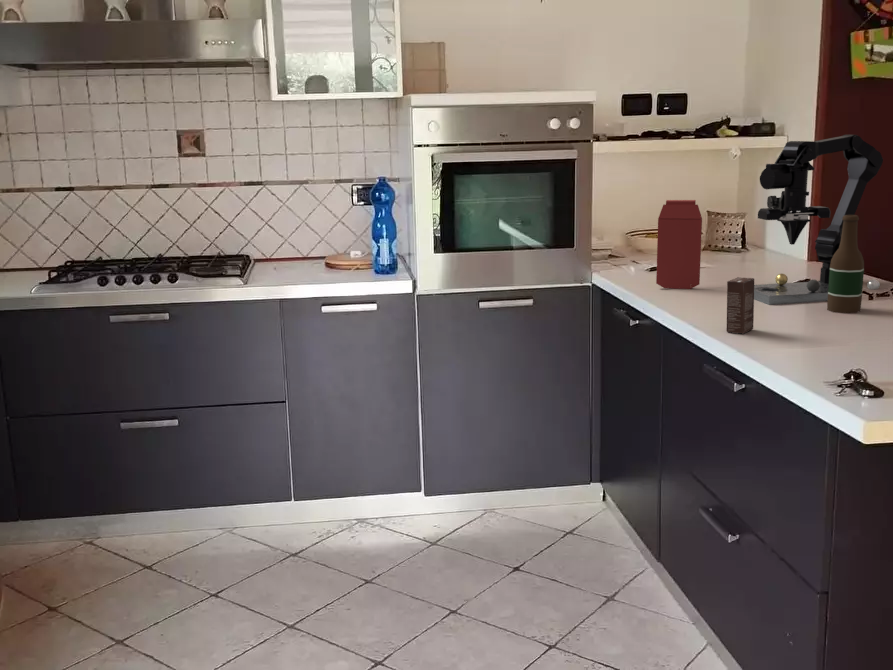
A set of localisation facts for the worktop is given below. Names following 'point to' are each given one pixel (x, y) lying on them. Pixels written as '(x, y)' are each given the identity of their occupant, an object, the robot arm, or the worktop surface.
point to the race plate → (789, 293)
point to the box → (740, 305)
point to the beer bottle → (846, 271)
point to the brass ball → (781, 279)
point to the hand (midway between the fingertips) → (792, 244)
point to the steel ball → (873, 284)
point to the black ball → (813, 285)
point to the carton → (679, 245)
